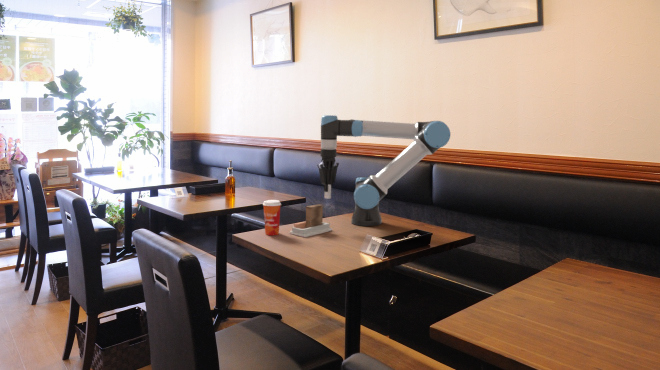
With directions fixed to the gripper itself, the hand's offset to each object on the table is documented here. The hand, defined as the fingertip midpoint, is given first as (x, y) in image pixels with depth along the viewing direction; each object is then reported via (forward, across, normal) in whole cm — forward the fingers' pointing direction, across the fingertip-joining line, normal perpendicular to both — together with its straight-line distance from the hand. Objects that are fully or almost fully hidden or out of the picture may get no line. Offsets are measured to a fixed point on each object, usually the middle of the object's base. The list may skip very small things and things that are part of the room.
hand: (327, 198), depth 231 cm
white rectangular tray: (+14, +11, 0) cm, 18 cm away
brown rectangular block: (+13, +9, 0) cm, 16 cm away
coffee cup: (+15, +26, -10) cm, 32 cm away
